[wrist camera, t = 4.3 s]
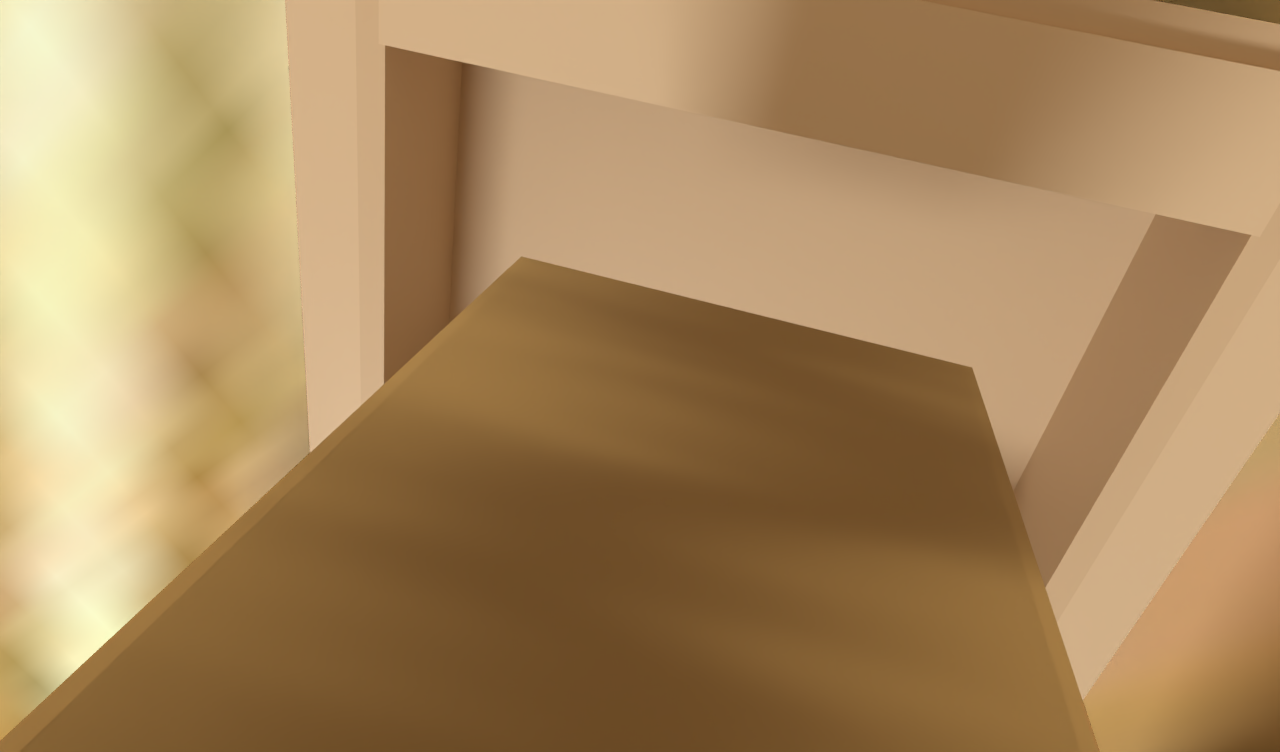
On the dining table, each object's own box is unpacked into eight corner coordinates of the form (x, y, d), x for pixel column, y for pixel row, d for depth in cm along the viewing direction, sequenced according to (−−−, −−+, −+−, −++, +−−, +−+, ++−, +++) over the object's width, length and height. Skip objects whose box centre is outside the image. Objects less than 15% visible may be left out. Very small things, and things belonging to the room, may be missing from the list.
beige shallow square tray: (1350, 43, 12) (1527, 71, 9) (988, 671, 20) (1016, 807, 17) (394, -139, 14) (267, -169, 11) (389, 499, 22) (312, 591, 18)
